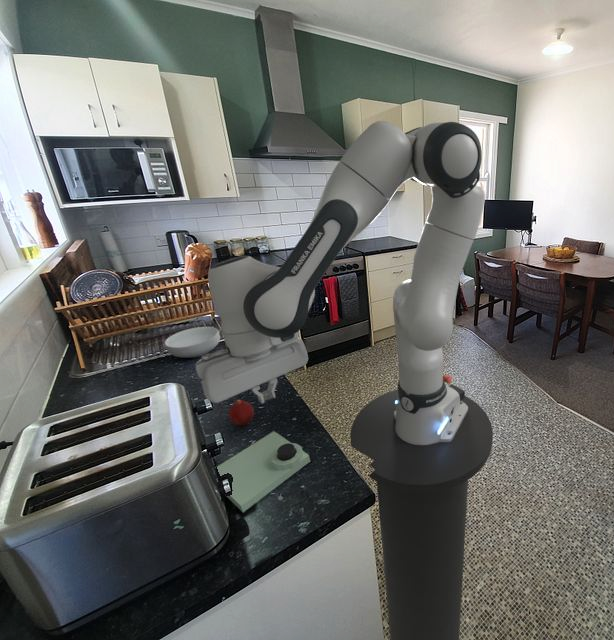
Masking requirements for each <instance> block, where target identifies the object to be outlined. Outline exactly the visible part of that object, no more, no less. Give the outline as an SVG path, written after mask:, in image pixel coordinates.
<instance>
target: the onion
mask: <svg viewBox="0 0 614 640" xmlns="http://www.w3.org/2000/svg"><path fill="white" fill-rule="evenodd" d="M254 415H255V409H254V407H253V406H252V404H251V403H250V402H248V401H246V400H241V399H236V401H235V402H234V403H233V404H232V405H231V406H230V408H229V410H228V419H229V420H230V422H231V423H232V424H234V425H237V426H246V425H248V423H249V422H250V421H251V420H252V419H253V418H254Z"/></svg>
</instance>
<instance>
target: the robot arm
mask: <svg viewBox="0 0 614 640" xmlns="http://www.w3.org/2000/svg"><path fill="white" fill-rule="evenodd" d="M482 156H483V152H482V145H481V141H480V138H479V137H478V135H477V134H476V133H475V131H473V129H472V128H470V127H468V126H467V125H465V124H463V123H461V122H457V121H447V122H431V123H428V124H425V126H419V127H416V128H413V129H411V130H409V131H406V132H404V131H403V130H402V129H401V128H399V126H397V125H396V124H394V123H392V122H389V121H384V120H377V121H375V122H373V123H371V124H370V125H369V126H367V128H366V129H364V130H363V132H361V134H359V136H358V137H357V138H356V139H355V141H354V142H352V144H351V145H350V146H349V148H348V149H347V150H346V151H345V152H344V154H343V155H342V157H341V158H340V160H339V161H338V163H337V164H336V165H335V167H334V169H333V171H332V172H331V174H330V176H329V178H328V180H327V182H326V184H325V186H324V188H323V191H322V193H321V196H320V199H319V201H318V204H317V206H316V209H315V211H314V214H313V217H312V219H311V221H310V223H309V225H308V227H307V229H306V230H305V232H304V233H303V235H302V236H301V238H300V239H299V240H298V242H297V243H296V245H295V246H294V247H293V249H292V250H291V252H290V253H289V255H288V256H287V258H286V259H285V260H284V262H282V264H281V266H277V265H271V264H268V263H265V262H262V261H260V260H257V259H255V258H254V257H252V256H250V255H240V256H236V257H232V258H229V259H226V260H223V261H220V262H217V263H215V264H213V265H212V266H211V267H210V269H209V270H208V273H207V279H208V287H209V292H210V296H211V300H212V301H211V302H212V304H213V307H214V310H215V312H216V314H217V315H218V317H219V319H220V323H221V324H220V325H221V326H220V328H221V330H220V331H221V335H222V337H223V340H224V343H225V347H224V348H222V349H218V350H216V351H215V352H214V351H213V352H211V353H207V354H205V355H203V356H200V358H199V360H197V361H196V363H195V365H194V370H195V373H196V375H197V377H198V379H200V380H201V385H202V389H203V393H204V396H205V398H206V399H207V400H208V401H209V402H210V403H213V404H219V403H221V402H223V401H225V400H229V399H230V398H233V397H235V396H237V395H239V394H242V393H244V392H246V391H251V392H252V393H254V394H255V395H256V396H257V400H258V402H259V403H260V404H264V403H266V402H269V401H271V400H273V399H275V398H276V393H275V390H276V388H277V385H278V378H279V377H281V376H283V375H286V374H288V373H291V372H292V371H293V372H294V371H295V370H297V369H300V368H301V367H305V366H306V365H307V363H308V361H309V355H308V351H307V348H306V345H305V342H304V341H303V339H302V338H300V337H299V336H300V332H299V331H300V330H301V329H302V328H303V327H304V325H305V323H306V321H307V318H308V314H309V312H310V310H311V307H312V304H313V302H314V300H315V296H316V288H317V286H318V284H319V283H320V282H321V280H322V279H323V277H324V276H325V275H326V273H327V272H328V270H329V268H330V267H331V265H332V264H333V263H334V261H335V259H336V258H337V257H338V256H339V254H340V253H341V252H342V250H343V249H344V248H346V246H347V245H348V244H349V243H350V242H351V241H353V240H354V239H355V238H356V237H357V236H358V235H360V234H361V233H362V232H364V230H366V229H367V228H368V227H369V226H370V225H371V224H373V222H374V221H375V220H376V219H377V218H378V216H379V215H381V213H382V212H383V211H384V209H385V208H386V207H387V205H388V204H389V202H390V201H391V200H392V198H393V197H394V195H395V193H396V192H397V191H398V189H399V188H400V187H401V186H402V185H403V184H405V182H407V181H409V180H411V181H413V182H415V183H419V184H422V185H424V186H427V187H430V189H431V196H432V199H431V205H430V207H431V208H430V210H429V212H428V213H427V214H428V215H427V217H426V220H425V223H424V226H423V228H422V232H421V235H420V238H419V240H418V243H417V246H416V249H415V252H414V255H413V264H412V271H411V275H410V279H407V280H404V281H402V282H401V283H400V284H399V285H397V287H396V288H395V290H394V293H393V297H392V309H393V311H392V312H393V319H394V320H393V323H394V332H395V340H396V348H397V358H398V360H397V361H398V381H397V389H398V394H397V400H396V401H395V403H397V406H396V411H394V418H395V420H396V424H395V430H396V433H397V435H398V436H399V437H400V438H401V439H402V440H403V441H405V442H407V443H410V444H414V445H430V444H434V443H438V442H451V441H452V439H453V438H454V436H455V434H456V432H457V430H458V428H459V426H460V424H461V423H462V421H463V419H464V417H465V415H466V413H467V411H468V406H467V405H466V404H465V403H464V402H463V401H461V400H463V399H464V398H465V396H466V391H465V390H464V389H462V388H460V387H458V386H456V385H454V384H453V383H452V381H453V377H452V376H451V375H447V374H444V352H443V347H444V346H445V345H447V343H449V341H450V339H451V338H452V335H453V332H454V311H455V306H456V302H457V301H456V300H457V295H458V291H459V285H460V280H461V276H462V272H463V270H464V267H465V264H466V262H467V259H468V256H469V253H470V252H471V249H472V246H473V243H474V241H475V238H476V235H477V233H478V230H479V227H480V223H481V219H482V216H483V212H484V206H485V203H486V193H485V190H484V189H483V186H481V184H480V183H479V182H480V178H481V174H480V173H481V171H480V170H481V166H482V159H483V157H482ZM267 382H268V386H267V389H266V390H263V391H262V392H260V391H259V390H261V387H260V385H263V384H266V383H267ZM446 384H448V385H446Z"/></svg>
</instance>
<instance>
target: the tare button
mask: <svg viewBox="0 0 614 640" xmlns="http://www.w3.org/2000/svg"><path fill="white" fill-rule="evenodd" d="M290 443H291V442H290ZM290 443H287V444H284V445H282V446H280V447H279V448H278V450H277V453H278V458H279V460H281V461H286V460H290V459H291V458H293V457H294V456H295V448H294V445H293V444H290Z"/></svg>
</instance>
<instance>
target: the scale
mask: <svg viewBox="0 0 614 640" xmlns="http://www.w3.org/2000/svg"><path fill="white" fill-rule="evenodd" d="M287 443H290V444H293V445H294V448H295V456H294V457H293V458H291V459H290V460H286V461H281V460H279V458H278V453H277V450H278V448H279V447H280V446H282V445H284V444H287ZM309 463H311V458H310V455H309V454H308V453H307V452H305V451H304V450H303V447H302V446H301V445H299V444H298V443H293V442H290V441H289V440H288V439H286V438H285V437H283V436H282V435H280V434H279V433H277V432H276V431H275V430H273V431H271V432H270V433H268V434H267V435H265V436H264V437H262V438H260V439H259V440H257V441H256V442H254V443H253V444H251V445H249V446H247V447H246V448H244V449H243V450H241V451H240V452H238V453H237V454H234V456H232V457H230V458H229V459H227V460H225V461H224V462H223V463H220V464H218V465H217V466H216V467H217V469H218V472H219V474H220V476H222V475H224V474H227V473H229V474H231V475H232V477H233V482H232V490H233V491H232V495H230V496H226V498H228V500H230V501H231V502H232V503H233V505H234V506H236V507H237V509H238V510H240V511H241V512H242V513H245V512H246V511H247V510H249V509H250V508H252V507H253V506H254V505H255V504H256V503H258V502H259V501H260V500H263V498H264V497H266V496H267V495H268V494H269V493H271V492H272V491H274V490H275V489H276V488H277V487H279V486H280V485H281V484H282V483H284V482H286V481H287V480H288V479H289V478H290V477H292V476H293V475H294V474H296V473H297V472H298V471H300V470H301V469H303V467H305V466H306V465H307V464H309Z"/></svg>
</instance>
